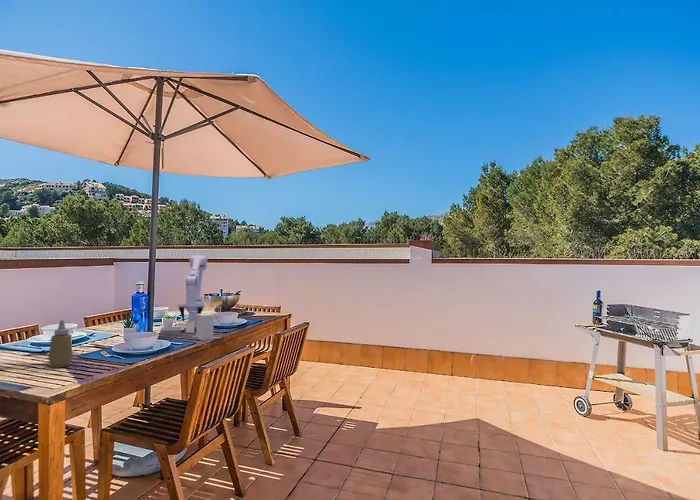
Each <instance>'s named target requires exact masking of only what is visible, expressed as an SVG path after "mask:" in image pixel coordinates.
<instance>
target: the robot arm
mask: <svg viewBox="0 0 700 500" xmlns="http://www.w3.org/2000/svg"><path fill="white" fill-rule="evenodd" d="M189 264H190V265H189V266H190V269H189V270H188V271H189V272H188V275H187V276H186V277H185V289H186V291H185V303H181V304H178V303H177V309H179V312H180V315H181V318H182V320H181V321H182V322H184V321H185V309H186V312H188V320H187V321H195V327H194V329H196V328H197V314H202V312H204V310H205V299H204V297H202V296H201V292H202V291H201V290H202V289H201V288H202V279H203V273H204V271H205V270H207V267H208V256H207V255H206V254H205V255H204V254H201V255H200V254H190V255H189Z"/></svg>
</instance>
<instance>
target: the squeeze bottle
mask: <svg viewBox="0 0 700 500" xmlns="http://www.w3.org/2000/svg"><path fill="white" fill-rule="evenodd" d="M69 330H70V329H68V328H66V325H65V320H64V319H62V320H60V321H59V324H58V328H57V329H54V335H52V336H51V339H50V346H49V351H48V360H49V363H50V367H51V368H57V369H58V368H65V367H68V366H69V365H70V363H71V361H72V359H73V346H72V335H70V334H69V332H70V331H69Z"/></svg>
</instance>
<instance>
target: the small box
mask: <svg viewBox="0 0 700 500" xmlns="http://www.w3.org/2000/svg"><path fill="white" fill-rule="evenodd" d="M214 319H215V315H214V314H212V313H208V312H207V313H202V312H201V314H197V327H196V333H195V335H196V336H195V338H196V339H198V340H200V341H209V340H210V341H211V340H214V325H215V324H214V322H215V321H214Z"/></svg>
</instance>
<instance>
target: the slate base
mask: <svg viewBox="0 0 700 500" xmlns="http://www.w3.org/2000/svg"><path fill="white" fill-rule="evenodd" d="M159 331H160V332H159V333H160V334H159V336H180V335H181V332H182V327H181V326H167V327H166V326H165V327H164V326H163V327H161V328H160V330H159Z"/></svg>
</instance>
